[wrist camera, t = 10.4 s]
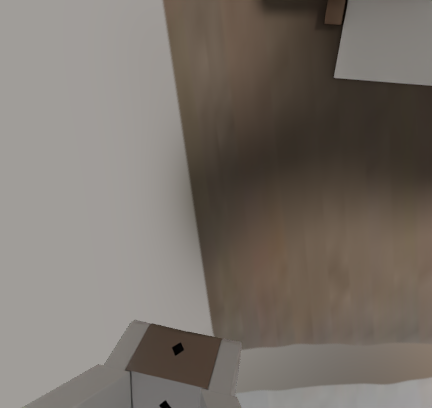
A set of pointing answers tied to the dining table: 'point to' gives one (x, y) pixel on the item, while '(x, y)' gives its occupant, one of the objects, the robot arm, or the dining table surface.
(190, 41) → the dining table surface
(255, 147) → the dining table surface
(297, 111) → the dining table surface
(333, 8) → the strip
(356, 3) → the mat
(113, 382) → the robot arm
